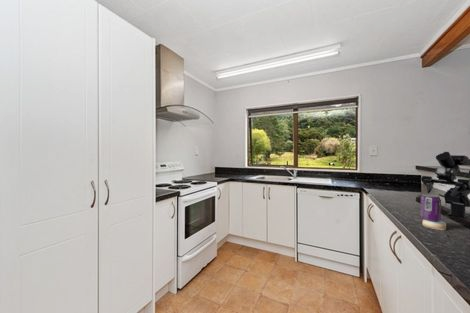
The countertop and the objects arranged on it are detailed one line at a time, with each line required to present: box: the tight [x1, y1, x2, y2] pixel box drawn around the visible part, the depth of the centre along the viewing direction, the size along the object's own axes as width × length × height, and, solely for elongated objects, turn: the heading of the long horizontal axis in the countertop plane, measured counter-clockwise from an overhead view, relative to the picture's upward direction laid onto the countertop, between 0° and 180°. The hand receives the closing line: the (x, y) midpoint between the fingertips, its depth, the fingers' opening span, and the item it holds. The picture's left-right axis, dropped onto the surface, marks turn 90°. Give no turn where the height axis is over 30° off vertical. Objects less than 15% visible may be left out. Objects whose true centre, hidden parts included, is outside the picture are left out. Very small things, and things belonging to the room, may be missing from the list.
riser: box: [422, 218, 447, 231], centre depth 95 cm, size 8×8×3 cm
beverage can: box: [419, 193, 442, 222], centre depth 97 cm, size 7×7×12 cm
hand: (439, 194), depth 106 cm, fingers open, 9 cm apart
